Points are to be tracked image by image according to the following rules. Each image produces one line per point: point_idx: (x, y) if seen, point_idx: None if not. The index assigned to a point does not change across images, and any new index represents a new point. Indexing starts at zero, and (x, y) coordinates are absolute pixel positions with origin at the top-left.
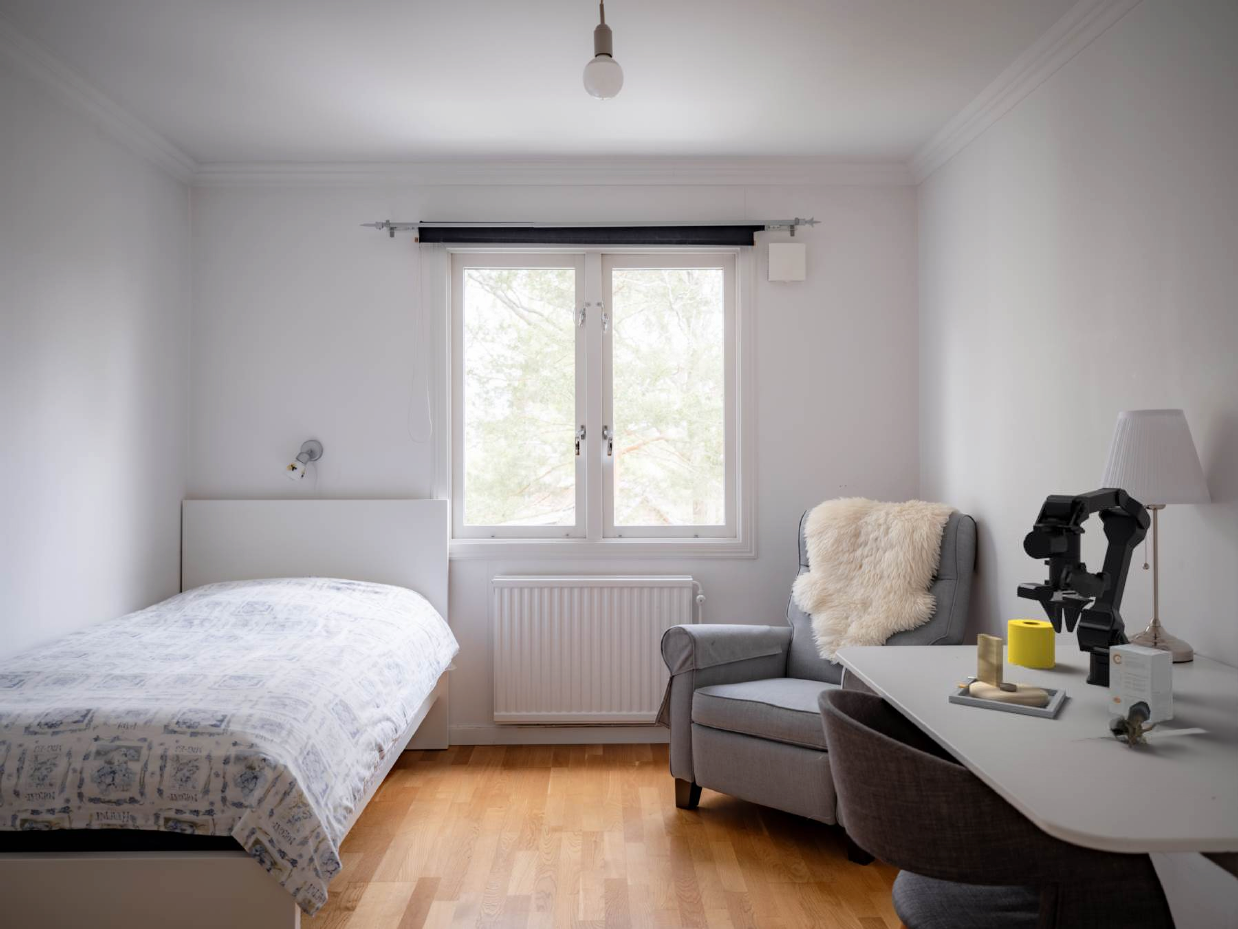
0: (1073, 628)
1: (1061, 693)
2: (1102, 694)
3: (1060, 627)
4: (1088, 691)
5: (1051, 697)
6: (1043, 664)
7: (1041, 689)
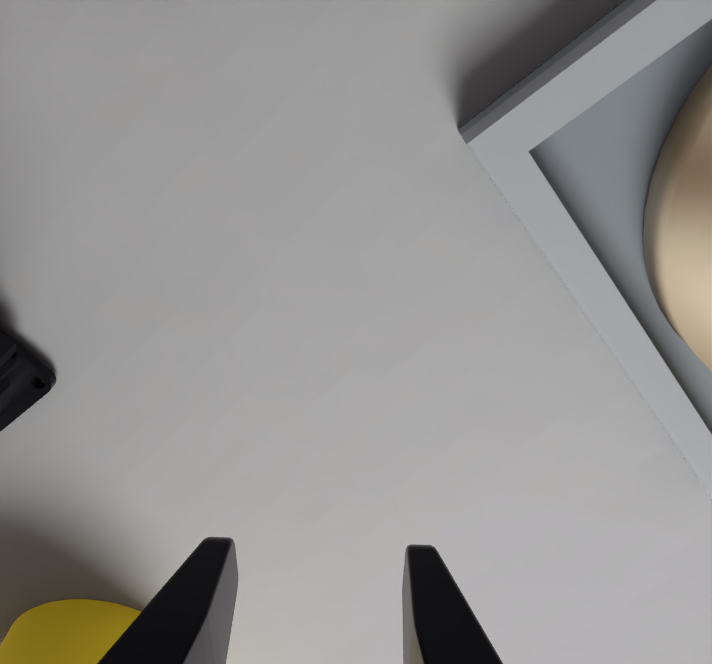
0: (189, 576)
1: (584, 72)
2: (115, 175)
3: (439, 608)
4: (158, 252)
5: (588, 132)
6: (94, 618)
7: (700, 148)
